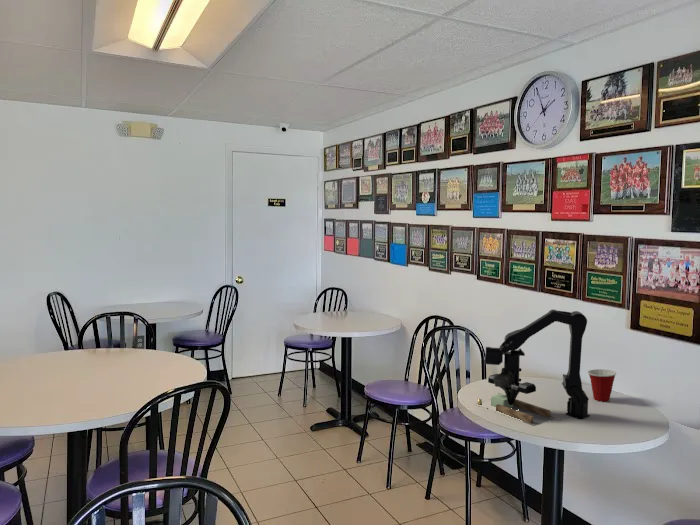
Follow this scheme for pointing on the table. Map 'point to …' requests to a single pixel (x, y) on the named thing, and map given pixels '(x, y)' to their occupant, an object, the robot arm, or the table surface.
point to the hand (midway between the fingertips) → (510, 404)
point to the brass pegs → (481, 401)
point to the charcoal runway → (534, 417)
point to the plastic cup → (601, 383)
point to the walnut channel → (526, 407)
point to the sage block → (500, 400)
